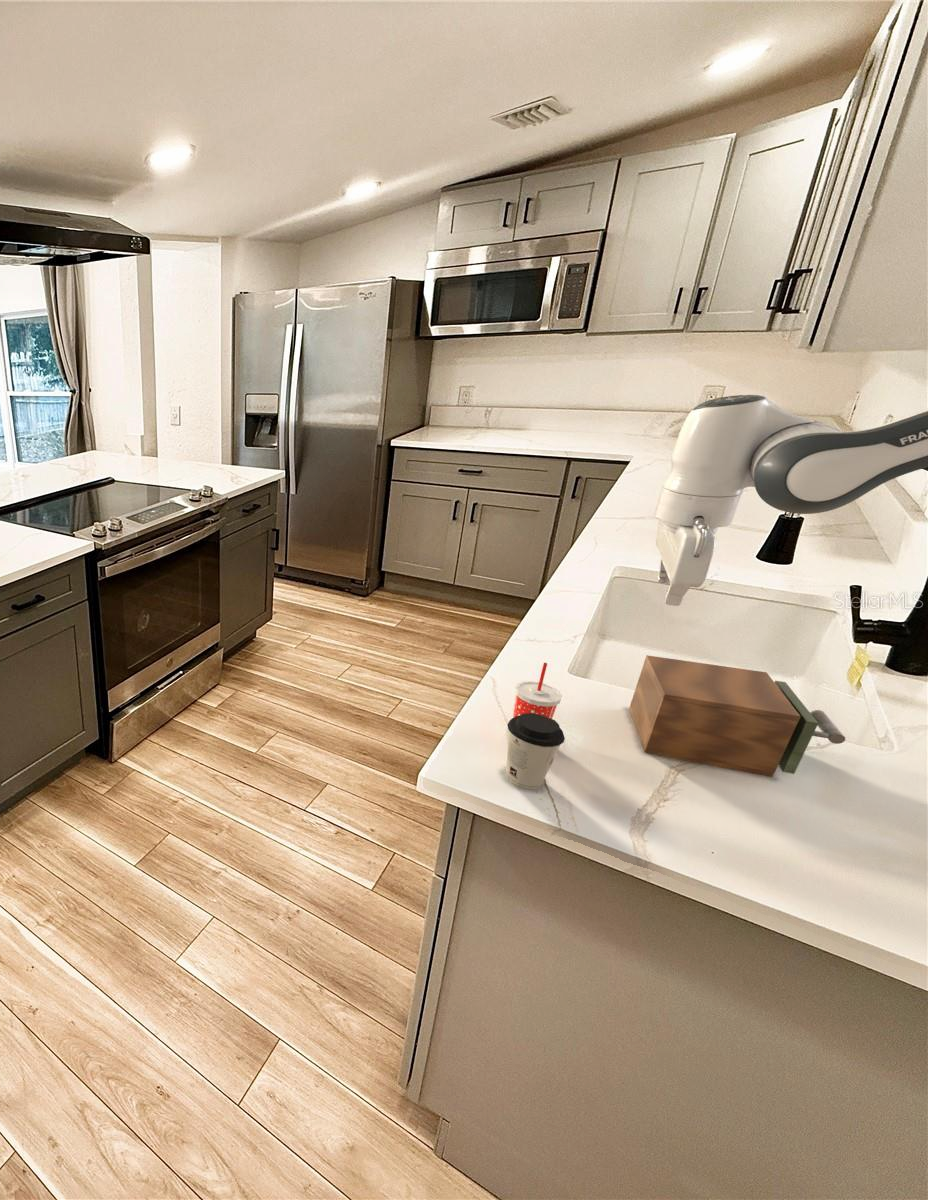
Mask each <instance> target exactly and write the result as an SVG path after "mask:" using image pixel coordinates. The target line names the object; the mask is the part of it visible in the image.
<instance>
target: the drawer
mask: <svg viewBox="0 0 928 1200" xmlns="http://www.w3.org/2000/svg"><path fill="white" fill-rule="evenodd" d="M774 683H775V684H776V685H777V687H778V688H779V689H780V690H781V692H782V693H783V694H784V696H785V697H786V698H787V699H788V701H789V702H790V703H791V705H792V706H793V707H794V709H795V710H796V711H797V712H798V714H799V715H800V719H799V721H798V723H797V725H796V727H795V730H794V732H793V734H792V736H791V738H790V740H789V743H788V745H787V747H786V749H785V751H784V753H783V756H782V758H781V760H780V762H779V764H778V767H779V768H780V770H781V772H782V773H785V774H792V775H794V774H795V773H796V771H797V769H798V767H799V765H800V762H801V761H802V759H803V756H804V754H805V752H806V750H807V748H808V747H809V744H810V742H811V740H812V738H813V737H816V738H817V737H818V738H823V739H827V740H828V741H829V742H830V743H832V744H835V745H836V744H838V745H839V744H842V743H844V742H845V741H846V736H845V735H844V734H843V733H842V732H841V730H840V729H839V728H838V726H836V725H835V723H834V722H833V720H831V718H830V717H829V716H828V715H827V714H826V712H824V711H823V710H820V709H814V710H811V711H810V710H809V709H808V708H807V707H806V705H805V704H804V702H802V701H801V699H800V698H799V697H798V695H797V694H796V693H795V692H794V690H792V688H791V687H790V686H789V684H788V683H787V682H786V681H782V680H781V681H780V680H775V681H774ZM817 727H818V728H819V730H820V731H818V730H816V729H817Z"/></svg>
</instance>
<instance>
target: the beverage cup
mask: <svg viewBox="0 0 928 1200" xmlns="http://www.w3.org/2000/svg"><path fill="white" fill-rule="evenodd" d="M547 668H548V663H547V662H543V664H542V668H541V673H540V676H539V681H533V680H525V681H520V682H518V683H517V684H516V686H515V690H514V693H515V701H514V708H513V715H512V718H514V717H516V716H520V715H522V714H525V713H534V714H539V715H542V716H545V717H548V718H551V719H553V718H554V714H555V712H556V709H557V706H558V705H559V704H560V703H561V700H562V698H563V694H562V693H561V691H560V690H558V689H557V688H556V687H554V686H552V685H549V684H548V683H544V679H545V675H546V670H547Z"/></svg>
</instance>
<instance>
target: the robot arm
mask: <svg viewBox="0 0 928 1200" xmlns="http://www.w3.org/2000/svg"><path fill="white" fill-rule="evenodd" d="M670 460H671V463H670V464H671V468H670V472H669V474H668V476H667V478H666V479H665V481H664V482H663V484H662V488H661V491H660V494H659V497H658V501H657V505H656V508H655V511H654V517H655V518H656V519H657V520H658V525H657V529H656V536H655V546H656V548H657V551H658V554H659V556H660V559H659V560H660V562H659V570H658V574H657V577H656V579H657V581H658V584H659V583H660V584H665V585H669V587H668V590H666V592H665V596H664V602H665V604H666V605H668V606H674V607H679V606H680V605H681V604H682V601H683V599H684V596H685V595H686V594H687V592H688V591H689V589H690V588H694V589H695V588H696V589H697V588H698V589H699V588H702V586H703V585H704V583H705V581H706V579H707V576H708V574H709V569H710V566H711V563H712V559H713V555H714V552H715V549H716V537H715V535H716V534H717V531H718V528H724V527H728V526H730V525H731V524H732V522H733V519H734V517H735V514H736V511H737V507H738V504H739V502H740V499H741V497H742V494H743V492H744V489H746V488H749V487H750V488H755V491H756V493H757V495H758V496H759V498H760V499H761V500H762V501H763V502H764V503H766V504H767V505H768V506H770V507H772V508H774V509H776V510H778V511H781V512H785V513H790V514H796V515H812V514H813V515H815V514H820V513H826V512H830V511H833V510H836V509H839V508H842V507H844V506H846V505H848V504H851V503H852V502H854V501H856V500H858V499H860V498H861V497H863V496H864V495H866V494H868V493H869V492H871V491H872V490H874V489H876V488H878V487H879V486H881V485H883V484H885V483H887V482H889V481H891V480H894V479H896V478H899V477H901V476H905V475H907V474H910V473H913V472H916V471H920V470H922V469H925V468H926V469H927V468H928V408H926V409H924V410H920V411H918V412H915V413H912V414H909V415H906V416H903V417H900V418H897V419H894V420H892V421H889V422H886V423H883V424H880V425H877V426H874V427H871V428H866V429H861V430H852V431H851V430H850V431H842V430H840V429H839V428H837V427H835V426H833V425H832V424H829V423H827V422H823V421H819V420H815V419H813V418H812V419H811V418H808V417H804V416H801V415H798V414H796V413H793V412H791V411H788V410H787V409H785V408H782V407H780V406H779V405H777V404H775V403H773V402H772V401H770V400H769V399H768V398H767V397H766V396H763V395H759V394H746V395H745V394H738V395H728V396H722V397H716V398H713V399H709V400H706V401H703V402H701V403H699V404H697V405H696V406H695V407H694V408H692V410H690V412H689V413H688V415H687V416H686V418H685V420H684V422H683V424H682V425H681V428H680V430H679V433H678V435H677V439H676V441H675V445H674V448H673V452H672V454H671V459H670Z"/></svg>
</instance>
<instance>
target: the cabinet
mask: <svg viewBox="0 0 928 1200" xmlns="http://www.w3.org/2000/svg"><path fill="white" fill-rule="evenodd" d="M774 682H775V681H774V680H773V679H772V677H771V676H770V674H769V673H768V672H766V671H760V670H754V669H747V668H746V669H745V668H740V667H732V666H725V665H720V664H719V665H717V664H711V663H710V664H709V663H706V662H705V663H704V662H698V661H689V660H682V659H677V658H669V657H661V656H655V655H645V659H644V661H643V665H642V667H641V671H640V674H639V677H638V680H637V683H636V686H635V689H634V692H633V696H632V699H631V700H630V701H631V702H630V705H629V707H628V710H629V713H630V715H631V719H632V721H633V724H634V727H635V730H636V733H637V735H638V738H639V741H640V743H641V746H642V749H643V752H644V753H647V754H652V755H657V756H660V757H661V756H662V757H666V758H672V759H677V760H682V761H687V762H692V763H697V764H703V765H707V766H712V767H717V768H722V769H727V770H732V771H737V772H743V773H748V774H752V775H758V776H763V777H767V778H773V777H774V775H775V773H776V770H777V768H778V767H779V765H778V764H779V762H780V760H781V758H782V756H783V753H784V751H785V749H786V747H787V745H788V743H789V740H790V738H791V736H792V734H793V732H794V730H795V727H796V725H797V723H798V721H799V719H800V715H799V714H798V712H797V711H796V710H795V709H794V707H793V706H792V705H791V703H790V702H789V701H788V699H787V698H786V697H785V696H784V694H783V693H782V692H781V690H780V689H779V688H778V687H777V685H776V684H775V683H774Z"/></svg>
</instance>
